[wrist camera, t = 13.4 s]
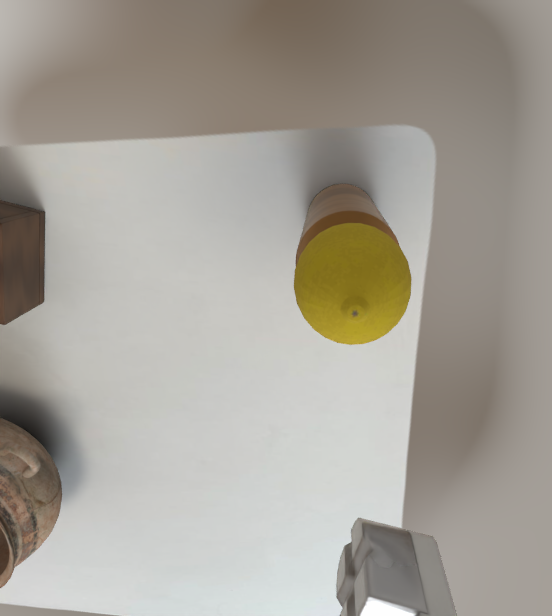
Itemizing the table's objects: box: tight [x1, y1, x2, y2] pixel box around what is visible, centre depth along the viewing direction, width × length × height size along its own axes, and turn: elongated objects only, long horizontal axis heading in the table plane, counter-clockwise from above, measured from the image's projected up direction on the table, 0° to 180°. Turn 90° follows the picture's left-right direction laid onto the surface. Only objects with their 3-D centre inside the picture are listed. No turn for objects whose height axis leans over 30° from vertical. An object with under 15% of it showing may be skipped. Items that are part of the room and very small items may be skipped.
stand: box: [296, 184, 400, 266], centre depth 31 cm, size 6×6×14 cm
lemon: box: [294, 223, 411, 345], centre depth 21 cm, size 6×6×8 cm
